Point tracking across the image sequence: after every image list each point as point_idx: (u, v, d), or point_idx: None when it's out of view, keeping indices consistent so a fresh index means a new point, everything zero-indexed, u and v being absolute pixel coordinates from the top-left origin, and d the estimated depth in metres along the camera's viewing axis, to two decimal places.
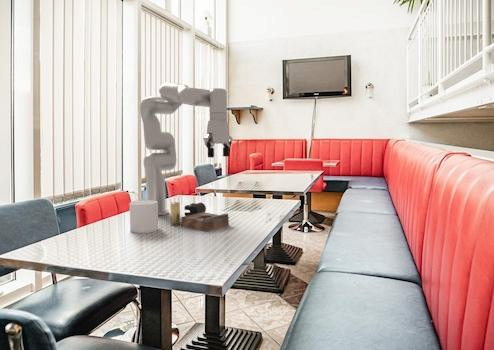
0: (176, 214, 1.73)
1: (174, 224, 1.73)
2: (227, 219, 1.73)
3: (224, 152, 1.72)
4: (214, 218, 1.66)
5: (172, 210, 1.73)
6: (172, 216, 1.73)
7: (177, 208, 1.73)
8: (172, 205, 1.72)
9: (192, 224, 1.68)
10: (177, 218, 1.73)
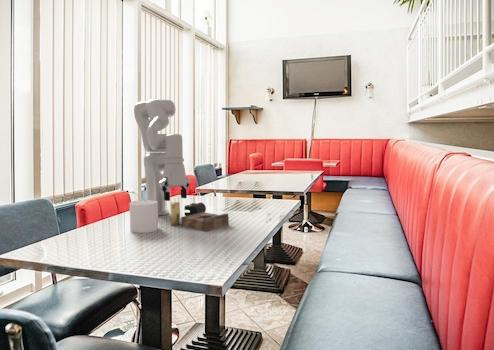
0: (176, 214, 1.73)
1: (174, 224, 1.73)
2: (227, 219, 1.73)
3: (182, 194, 1.77)
4: (214, 218, 1.66)
5: (172, 210, 1.73)
6: (172, 216, 1.73)
7: (177, 208, 1.73)
8: (172, 205, 1.72)
9: (192, 224, 1.68)
10: (177, 218, 1.73)
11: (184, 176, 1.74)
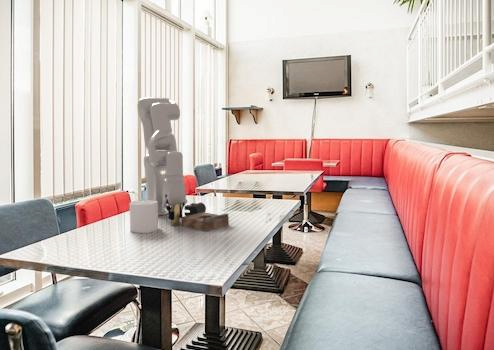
0: (176, 214, 1.73)
1: (174, 224, 1.73)
2: (227, 219, 1.73)
3: None
4: (214, 218, 1.66)
5: None
6: None
7: (177, 208, 1.73)
8: None
9: (192, 224, 1.68)
10: (177, 218, 1.73)
11: (184, 193, 1.75)
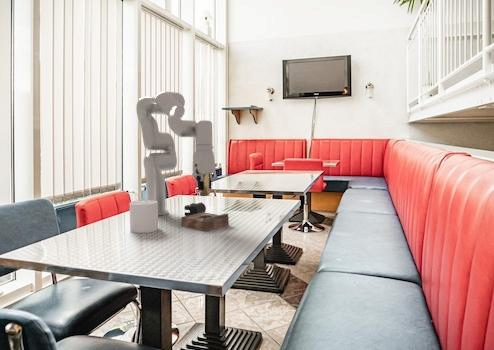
0: (206, 184, 1.69)
1: (204, 194, 1.69)
2: (227, 219, 1.73)
3: None
4: (214, 218, 1.66)
5: None
6: None
7: (207, 178, 1.69)
8: None
9: (192, 224, 1.68)
10: (207, 188, 1.70)
11: (213, 163, 1.72)
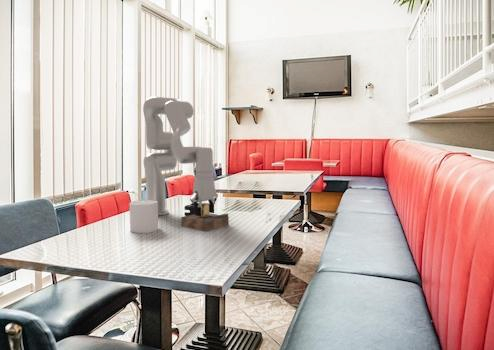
0: (206, 215, 1.71)
1: None
2: (227, 219, 1.73)
3: (209, 209, 1.75)
4: (214, 218, 1.66)
5: (202, 211, 1.71)
6: (202, 217, 1.71)
7: (207, 209, 1.71)
8: (201, 206, 1.70)
9: (192, 224, 1.68)
10: None
11: (213, 190, 1.73)
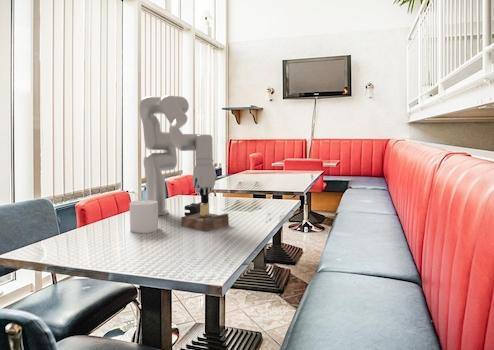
0: (206, 215, 1.71)
1: None
2: (227, 219, 1.73)
3: None
4: (214, 218, 1.66)
5: (202, 211, 1.71)
6: (202, 217, 1.71)
7: (207, 209, 1.71)
8: (201, 206, 1.70)
9: (192, 224, 1.68)
10: None
11: (213, 177, 1.72)
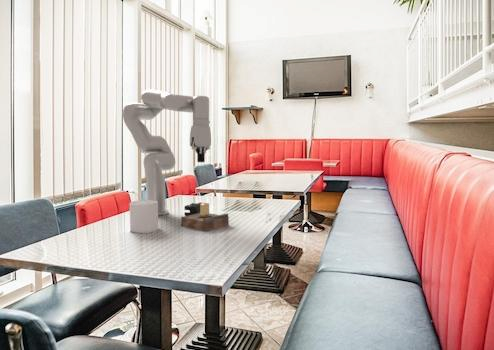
0: (206, 215, 1.71)
1: None
2: (227, 219, 1.73)
3: None
4: (214, 218, 1.66)
5: (202, 211, 1.71)
6: (202, 217, 1.71)
7: (207, 209, 1.71)
8: (201, 206, 1.70)
9: (192, 224, 1.68)
10: None
11: (209, 137, 1.81)
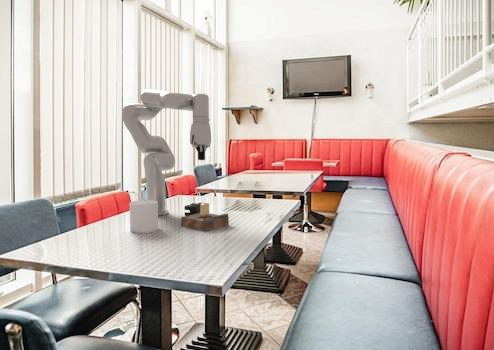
0: (206, 215, 1.71)
1: None
2: (227, 219, 1.73)
3: None
4: (214, 218, 1.66)
5: (202, 211, 1.71)
6: (202, 217, 1.71)
7: (207, 209, 1.71)
8: (201, 206, 1.70)
9: (192, 224, 1.68)
10: None
11: (210, 135, 1.81)
